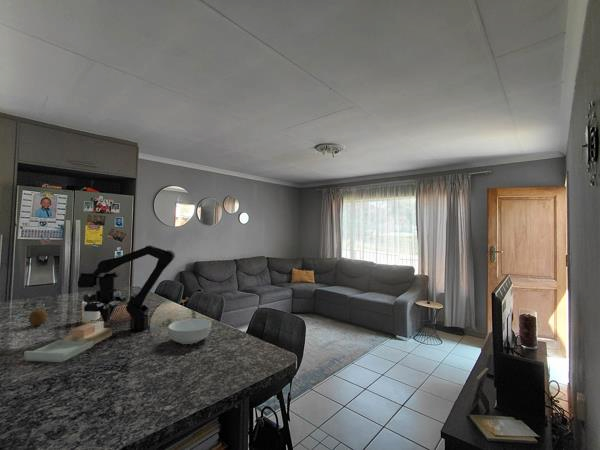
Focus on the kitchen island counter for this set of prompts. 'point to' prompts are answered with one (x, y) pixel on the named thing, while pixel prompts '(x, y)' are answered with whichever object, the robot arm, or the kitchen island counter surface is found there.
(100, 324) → the cream tile
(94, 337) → the beech board
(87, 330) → the terracotta tile
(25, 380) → the kitchen island counter surface
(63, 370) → the kitchen island counter surface
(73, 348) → the tray
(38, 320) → the fruit
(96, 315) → the white cup
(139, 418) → the kitchen island counter surface
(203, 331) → the cereal bowl
